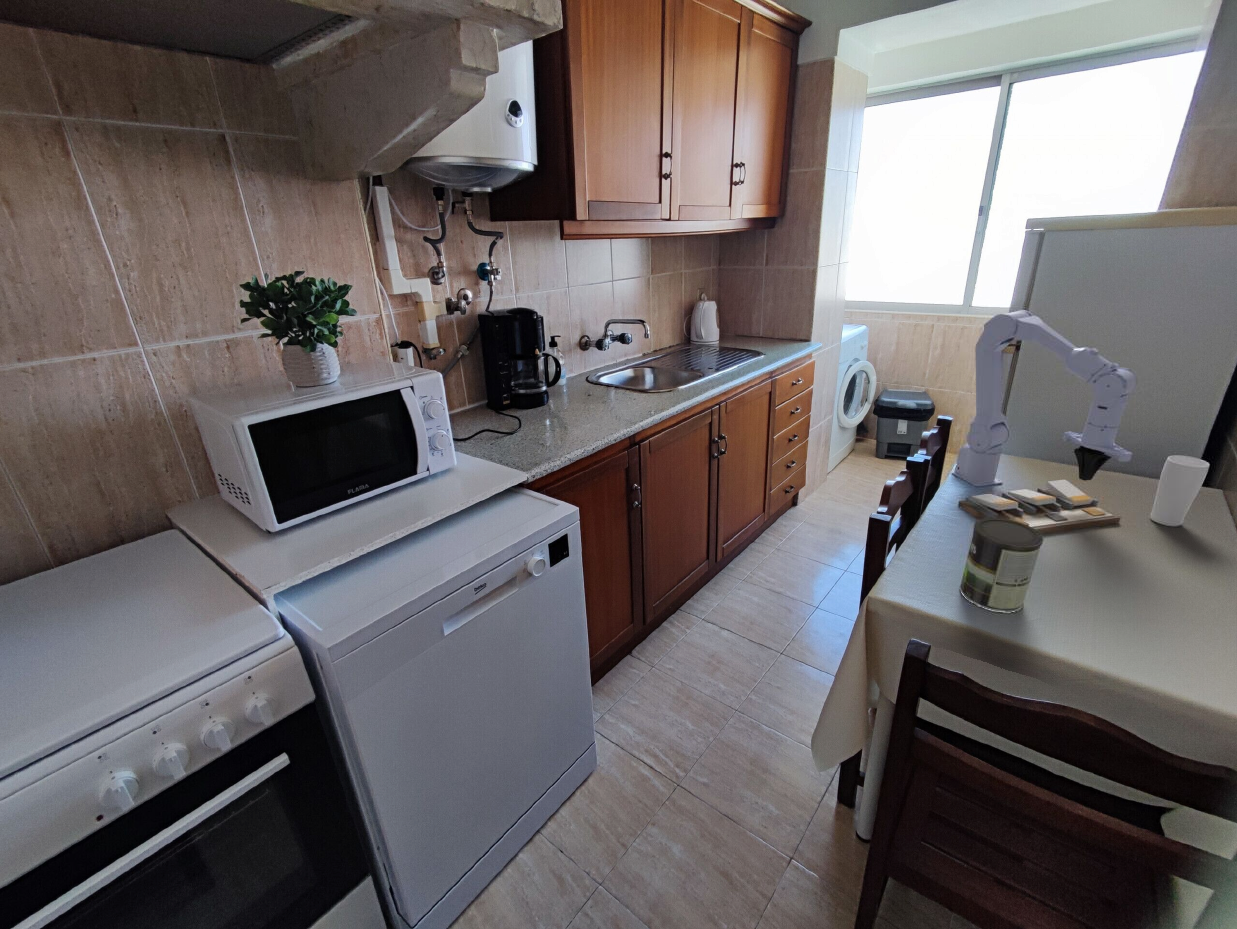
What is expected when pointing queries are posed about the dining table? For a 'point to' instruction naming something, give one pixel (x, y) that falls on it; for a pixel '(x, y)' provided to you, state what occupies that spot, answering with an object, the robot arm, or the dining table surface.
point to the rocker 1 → (995, 502)
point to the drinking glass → (1178, 488)
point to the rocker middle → (1032, 497)
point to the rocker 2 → (1068, 492)
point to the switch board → (1045, 513)
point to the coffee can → (1000, 563)
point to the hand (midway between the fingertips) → (1085, 479)
